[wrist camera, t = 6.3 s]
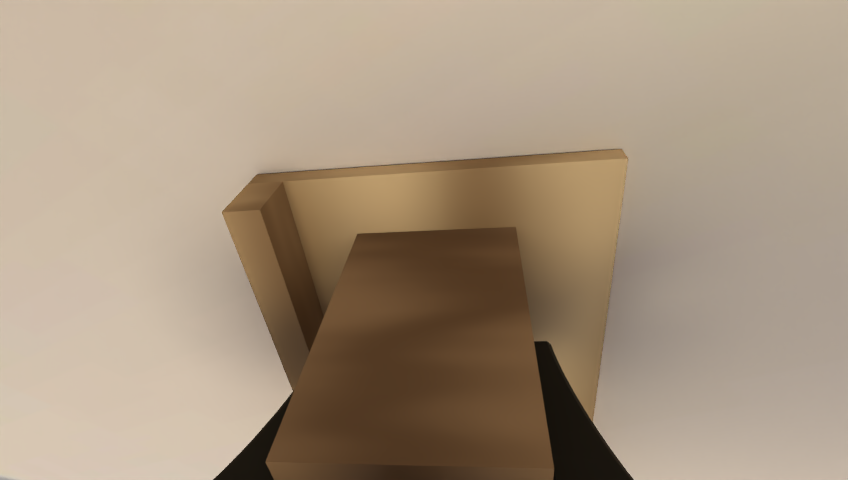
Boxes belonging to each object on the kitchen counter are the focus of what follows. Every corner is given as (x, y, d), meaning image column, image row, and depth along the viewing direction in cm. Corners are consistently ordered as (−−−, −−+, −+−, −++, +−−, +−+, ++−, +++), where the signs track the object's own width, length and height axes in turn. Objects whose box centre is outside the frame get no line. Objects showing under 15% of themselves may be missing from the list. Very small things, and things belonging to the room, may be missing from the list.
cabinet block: (515, 226, 13) (563, 526, 6) (515, 355, 15) (548, 662, 9) (357, 233, 13) (244, 513, 7) (383, 356, 16) (320, 644, 9)
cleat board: (621, 149, 12) (648, 187, 10) (576, 512, 21) (585, 566, 20) (256, 174, 13) (221, 212, 11) (367, 506, 23) (358, 555, 21)
